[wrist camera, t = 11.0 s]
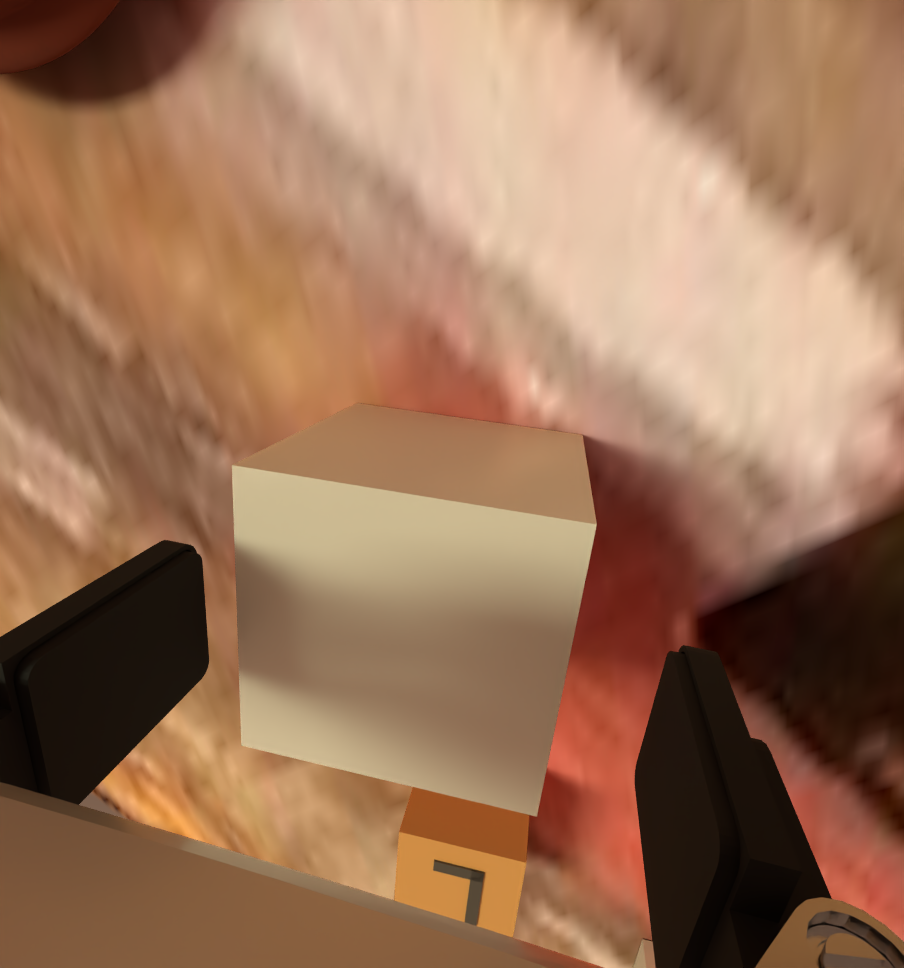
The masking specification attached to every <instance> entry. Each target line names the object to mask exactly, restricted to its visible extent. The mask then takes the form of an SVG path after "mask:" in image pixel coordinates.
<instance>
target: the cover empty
mask: <svg viewBox="0 0 904 968" xmlns="http://www.w3.org/2000/svg"><path fill="white" fill-rule="evenodd" d="M633 968H656V967H655V958H654V949H653V942H652V941H648V940H644V939H642V942H641V945H640V949H639V952H638V955H637V958H636V961H635V964H634V967H633Z"/></svg>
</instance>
